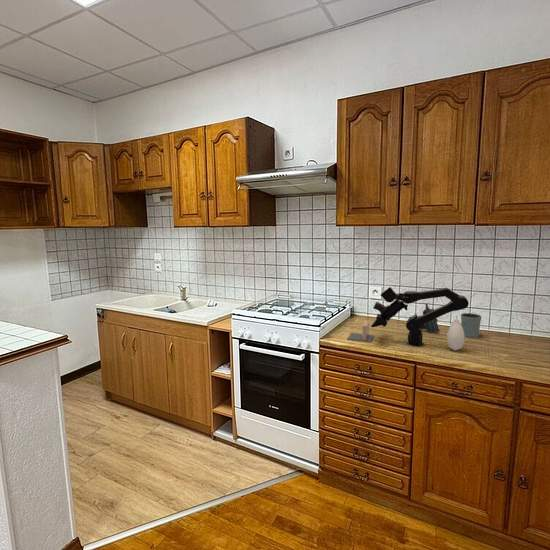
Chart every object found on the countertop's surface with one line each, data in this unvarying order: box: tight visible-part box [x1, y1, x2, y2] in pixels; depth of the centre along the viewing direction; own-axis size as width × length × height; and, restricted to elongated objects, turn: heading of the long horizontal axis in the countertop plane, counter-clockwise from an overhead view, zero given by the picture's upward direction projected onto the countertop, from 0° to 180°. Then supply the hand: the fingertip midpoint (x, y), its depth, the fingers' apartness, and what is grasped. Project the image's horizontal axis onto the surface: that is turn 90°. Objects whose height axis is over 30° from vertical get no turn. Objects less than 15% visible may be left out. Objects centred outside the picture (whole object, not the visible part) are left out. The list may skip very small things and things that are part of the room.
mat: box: [347, 332, 375, 344], centre depth 196 cm, size 13×12×1 cm
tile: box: [361, 320, 370, 340], centre depth 195 cm, size 2×10×8 cm, turn 157°
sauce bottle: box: [446, 315, 465, 351], centre depth 174 cm, size 8×8×18 cm
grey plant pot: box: [460, 312, 482, 339], centre depth 197 cm, size 10×10×12 cm
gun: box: [421, 303, 441, 333], centre depth 207 cm, size 3×17×15 cm
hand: (371, 326), depth 193 cm, fingers closed
